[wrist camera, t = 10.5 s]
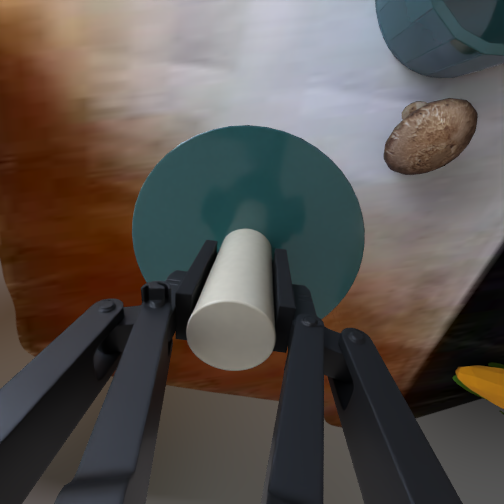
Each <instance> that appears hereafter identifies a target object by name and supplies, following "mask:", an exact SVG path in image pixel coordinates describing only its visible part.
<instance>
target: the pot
mask: <svg viewBox="0 0 504 504" xmlns="http://www.w3.org/2000/svg"><path fill="white" fill-rule="evenodd" d="M375 3H376V13H377V18H378V23H379V27H380V30H381V32H382V35H383V38H384V40H385V42H386V44H387V46H388V48H389V49H390V50H391V52H392V53H393V54H394V56H395V57H396V58H397V59H398V60H399V61H400V62H401V63H402V64H403V65H405V66H406V67H408V68H409V69H410V70H412V71H414V72H417V73H419V74H421V75H425V76H429V77H436V78H454V77H458V76H462V75H466V74H469V73H473V72H477V71H481V70H484V69H487V68H491V67H494V66H497V65H500V64H504V0H375Z"/></svg>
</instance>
